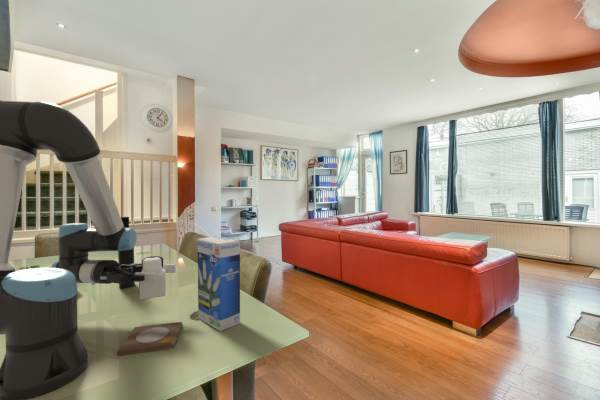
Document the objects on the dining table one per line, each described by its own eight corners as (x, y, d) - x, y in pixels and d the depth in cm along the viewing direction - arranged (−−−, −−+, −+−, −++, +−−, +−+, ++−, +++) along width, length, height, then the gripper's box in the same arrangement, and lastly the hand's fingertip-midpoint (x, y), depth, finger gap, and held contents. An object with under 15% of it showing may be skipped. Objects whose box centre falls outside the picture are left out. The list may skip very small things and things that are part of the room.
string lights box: (197, 318, 89) (196, 238, 88) (218, 310, 95) (217, 235, 94) (220, 332, 80) (219, 243, 79) (242, 322, 86) (241, 240, 85)
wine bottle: (134, 282, 125) (132, 216, 124) (135, 286, 120) (133, 217, 119) (119, 285, 121) (117, 217, 120) (119, 288, 117) (117, 217, 116)
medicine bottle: (141, 292, 90) (140, 256, 90) (165, 289, 93) (165, 254, 93) (139, 300, 84) (138, 260, 84) (165, 296, 87) (164, 258, 87)
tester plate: (173, 348, 72) (173, 342, 72) (117, 355, 69) (116, 349, 69) (182, 324, 85) (181, 320, 85) (134, 330, 81) (134, 325, 81)
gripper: (126, 273, 101) (184, 274, 99) (69, 295, 79) (142, 297, 77) (125, 253, 101) (183, 253, 99) (69, 268, 79) (142, 270, 77)
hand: (165, 272), depth 88 cm, fingers closed on medicine bottle, 9 cm apart
